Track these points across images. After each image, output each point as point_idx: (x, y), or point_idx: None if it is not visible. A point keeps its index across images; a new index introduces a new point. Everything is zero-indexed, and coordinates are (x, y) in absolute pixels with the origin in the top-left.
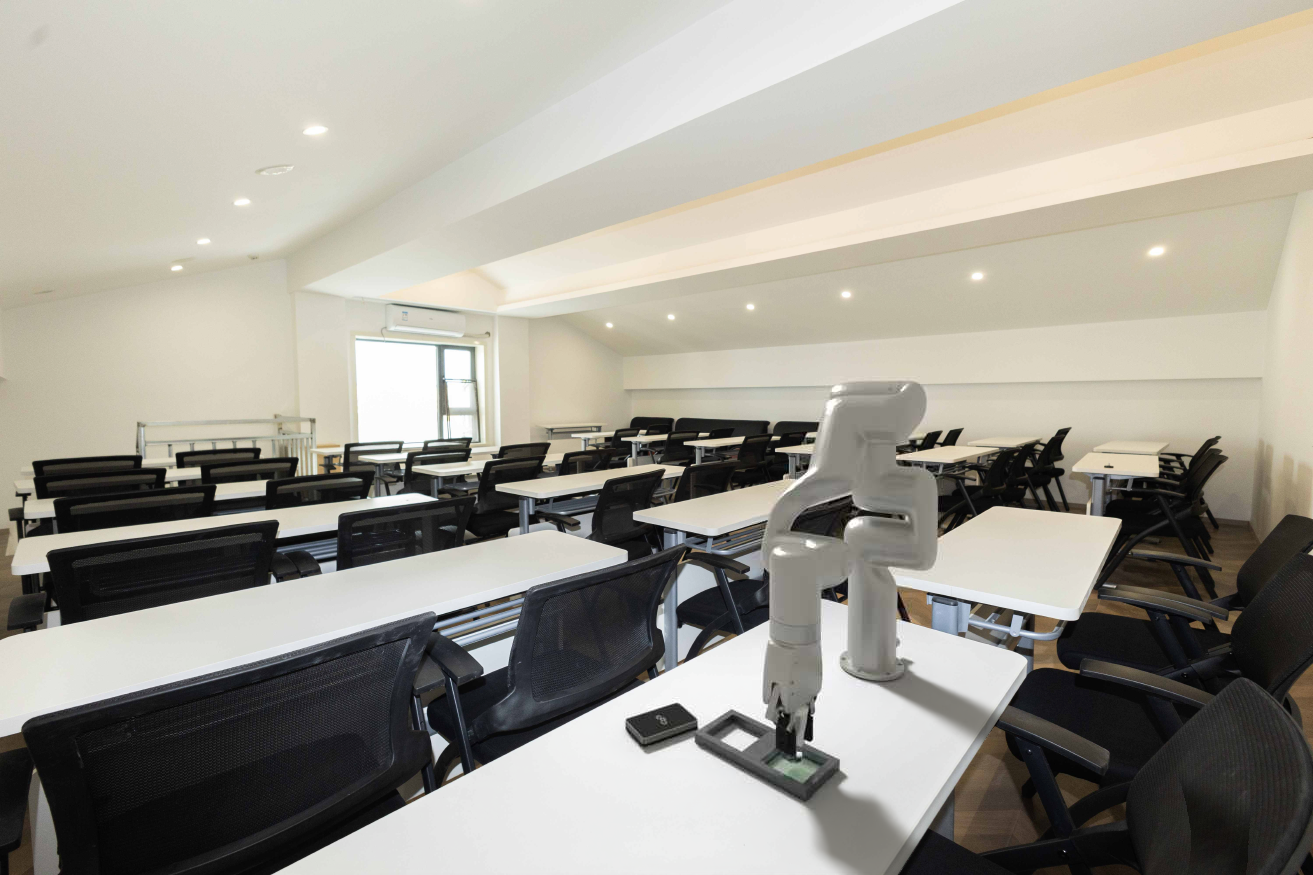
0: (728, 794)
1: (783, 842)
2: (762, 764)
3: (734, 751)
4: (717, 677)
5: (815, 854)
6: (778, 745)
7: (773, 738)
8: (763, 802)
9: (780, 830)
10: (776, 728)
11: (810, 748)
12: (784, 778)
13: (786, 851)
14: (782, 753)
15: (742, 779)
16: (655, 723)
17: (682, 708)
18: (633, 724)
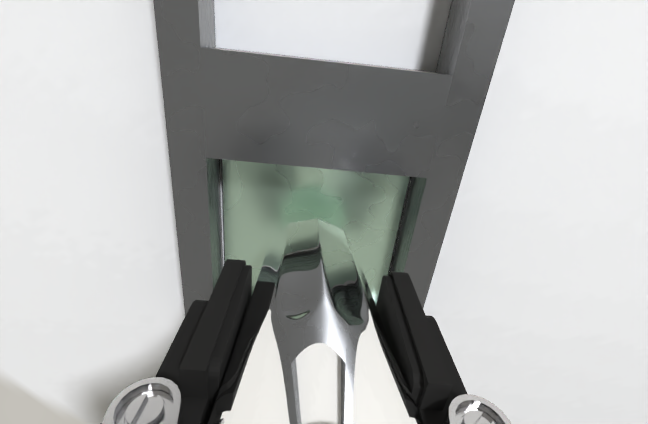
0: (9, 122)
1: (27, 336)
2: (194, 181)
3: (171, 11)
4: None
5: (68, 390)
6: (195, 302)
7: (404, 125)
8: (95, 236)
9: (51, 316)
10: (195, 338)
11: (417, 274)
12: (191, 277)
13: (12, 350)
14: (268, 250)
15: (123, 119)
16: None
17: None
18: None
